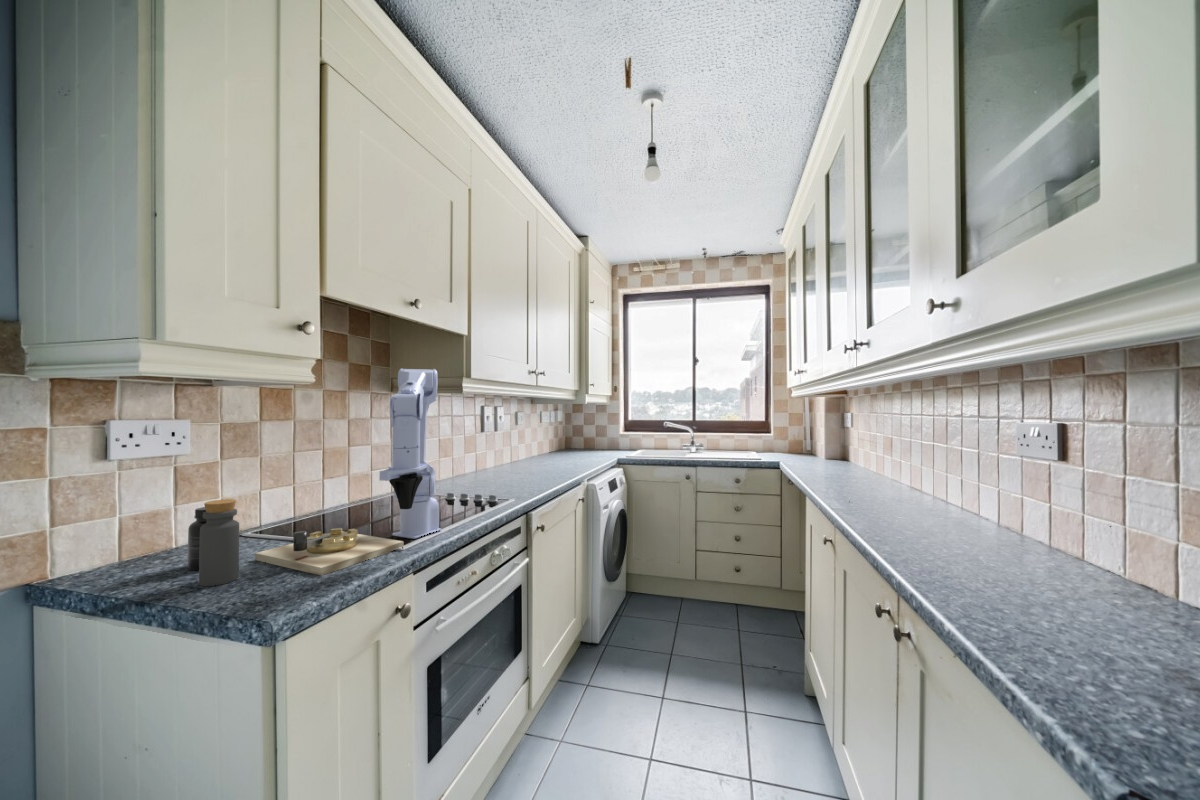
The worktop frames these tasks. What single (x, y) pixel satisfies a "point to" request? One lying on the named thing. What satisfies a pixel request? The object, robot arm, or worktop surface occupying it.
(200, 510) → the supplement bottle
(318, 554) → the base board
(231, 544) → the bottle
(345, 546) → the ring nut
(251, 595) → the worktop surface
